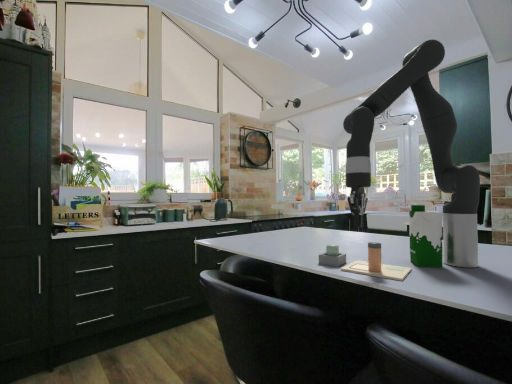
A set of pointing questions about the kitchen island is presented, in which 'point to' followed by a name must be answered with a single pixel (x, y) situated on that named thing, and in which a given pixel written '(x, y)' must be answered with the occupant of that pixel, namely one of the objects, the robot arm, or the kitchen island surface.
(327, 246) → the button
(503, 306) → the kitchen island surface
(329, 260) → the button base
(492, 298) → the kitchen island surface
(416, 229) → the milk carton
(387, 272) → the sheet
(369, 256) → the orange jar
